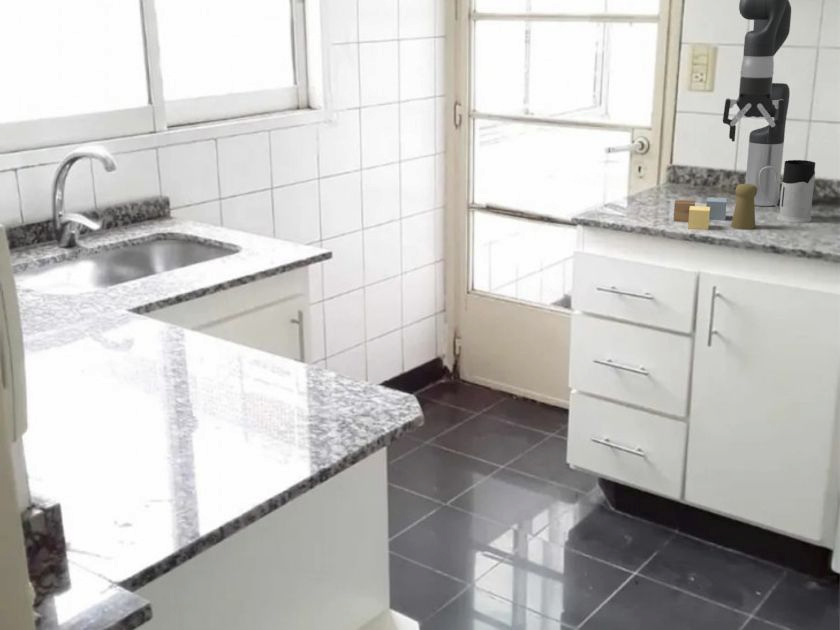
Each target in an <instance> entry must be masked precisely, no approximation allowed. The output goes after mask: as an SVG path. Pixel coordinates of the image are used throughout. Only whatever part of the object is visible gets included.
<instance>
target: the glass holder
mask: <svg viewBox="0 0 840 630" xmlns="http://www.w3.org/2000/svg"><path fill="white" fill-rule="evenodd" d="M765 168H772V169H773V170H774V171H775V180H776V182H777V183H780V185H781V187H780V188H781V189H780V198H779V199H780V201H779V206H778V204H777V205H776V204H775V203H774V202H773V201H772V200H771V199H769V198H768V197H767V196H766V194H765V193H764V191H763V189H762V187H761V182H760V175H761V172H762V170H764V169H765ZM815 170H816V162H815V161H812V160H802V159H791V160H790V159H789V160H785V161H784V167H783V173H782V174H783V176H782V181H780V182H778V181H777V172H776V170H775V169H774V168H773V167H770V166H767V167H764V168H763V169H761V171H760V173H759V185H760V188H761V191H762V193H763V195H764V196H765V197H766V198H767V199H768V200H769V201H770V202H772V203H773V204H774V205H773V206H775V207H776V208H777V212H778V215H777V216H776V220H778V221H781V222H785V223H793V224H795V223H797V224H801V223H803V224H804V223H810V222H811V221H812V220H813V219H812V217H811V216H812V215H811V214H812V207H813V206H812V204H813V195H814V186H815V177H816V176H815V175H816V171H815Z"/></svg>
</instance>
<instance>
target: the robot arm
mask: <svg viewBox="0 0 840 630" xmlns="http://www.w3.org/2000/svg"><path fill="white" fill-rule="evenodd" d="M738 11H739V15H741V17H743V18H744V19H745V20H749V21H753V30H749V31H748V32H746V34H745V36H744V43H743V44H744V45H743V57H742V61H741V62H742V63H741V66H740V67H741V68H740V78H739V91H738V97H737V99H731V98H729V97H727V98H726V99H725V102H724V109H723V116H722V122H723V124H725V125H728V126H729V133H728V137H729V140H731V142H735V139H736V128H737V126H736V124H737V123H738V122H739V121H740V120H741V119H742V118H743V117H746V118H751V117H755V118H764V119H765V120H766V122H767V123H768V125H766V126H763V127H761V128H757V129H753V130H752V131H750V132H749V136H748V148H747V149H748V150H747V161H746V170H745V171H746V172H745V174H746V175H745V183H744V184H752V185H755V186H756V188H757V194H756V196H755V197H754V206H759V207H770V206H775V205H774V204H773V203H772V202H770V201H769V200H768V199H767V198H766V197H765V196H764V195H763V193H762V191H761V188H760V185H759V173H760V171H761V169H763V168H764V167H767V166H770V167H773V168H774V169H775V170H776V172H777V181H778V182H781V176H782V168H783V167H782V166H783V155H784V154H783V153H784V144H785V132H786V122H787V118H788V115H787V114H788V109H789V103H790V95H791V93H790V87H789V84H787V83H782V82H773V80H774V79H773V76H774V68H775V67H774V65H775V63H774V59H775V58H774V57H775V55H776V54H777V52H778V51H779V50H780V49H781V48H782V46H783V45H784V43H785V42H786V40H787V38H788V37H789V34H790V29H791V21H792V20H791V19H792V5H791V4H790V1H789V0H739V4H738ZM734 105H736V106H737V108H738V110H739V111H738V112H737V113H736V114H735V116H734V117H732V118H731V119H730V118H729V115H730V109H732V108H734ZM760 182H761V187H762V189H763V191H764V193H765V194H766V196H767V197H768V198H769V199H771V200H772V201H773V202H774V203H775V204H776V205H777V206H778V204H779V199H780V198H779V196H780V188H781V187H780V185H781V184H780V183H777V182H776V180H775V171H774V170H773V169H772V168H765V169H764V170H762V172H761V175H760Z"/></svg>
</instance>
